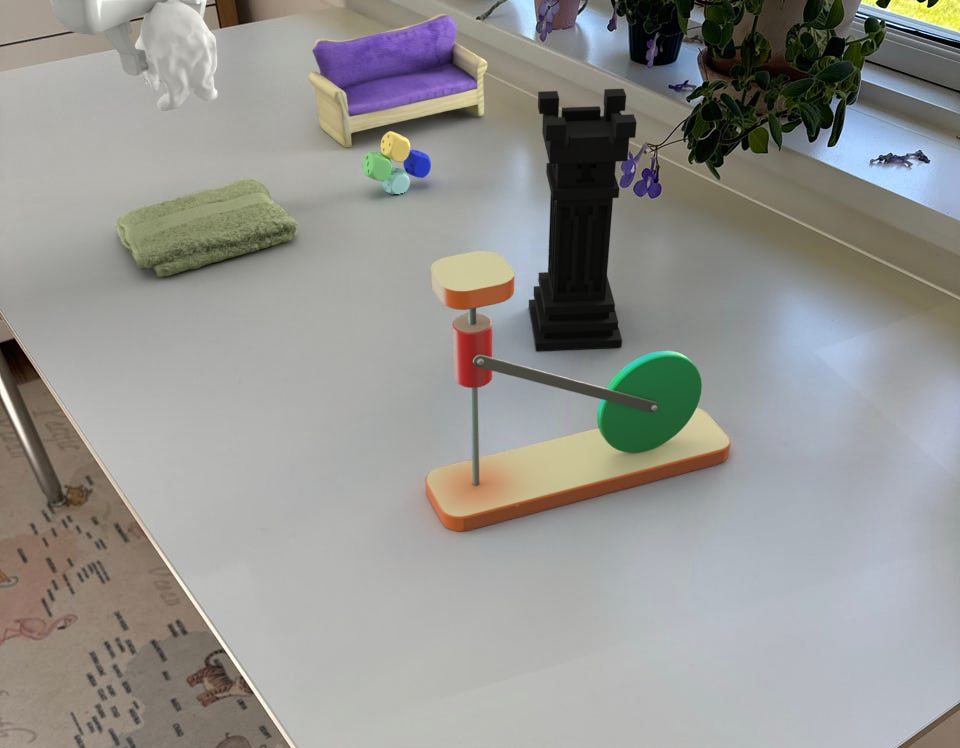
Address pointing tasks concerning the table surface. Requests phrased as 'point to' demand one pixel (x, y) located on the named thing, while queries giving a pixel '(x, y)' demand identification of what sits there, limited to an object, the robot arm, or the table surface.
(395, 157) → the dice
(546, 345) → the chess piece
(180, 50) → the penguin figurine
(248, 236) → the washcloth
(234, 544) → the table surface
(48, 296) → the table surface
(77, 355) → the table surface
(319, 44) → the toy sofa
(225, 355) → the table surface
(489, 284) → the crank mechanism
